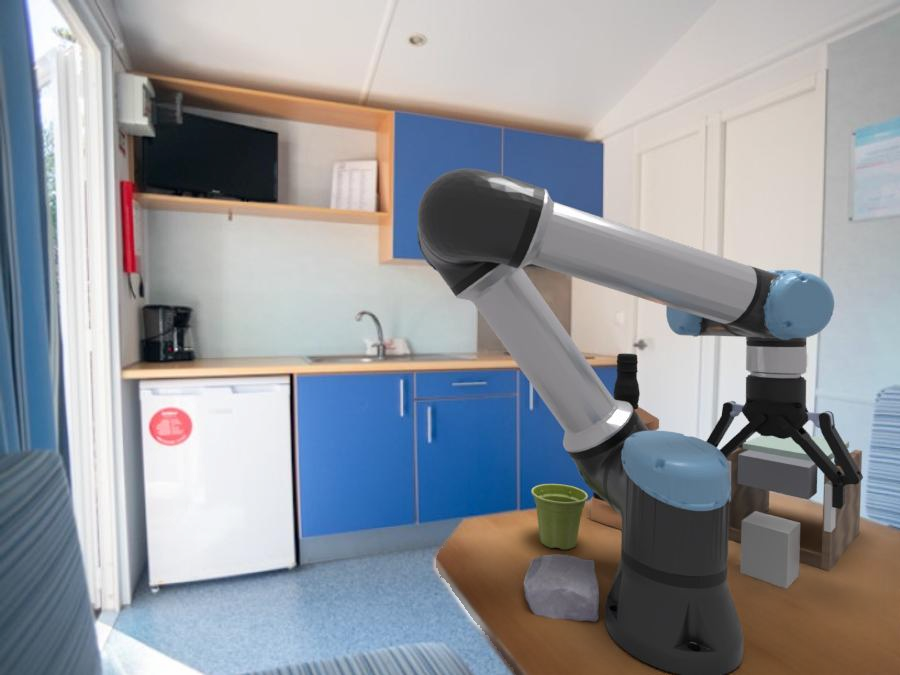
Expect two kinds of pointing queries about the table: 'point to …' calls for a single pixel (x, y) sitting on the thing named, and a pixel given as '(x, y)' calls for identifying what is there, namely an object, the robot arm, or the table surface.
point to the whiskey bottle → (630, 393)
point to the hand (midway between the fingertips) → (773, 515)
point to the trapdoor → (780, 466)
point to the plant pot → (559, 514)
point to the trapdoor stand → (846, 517)
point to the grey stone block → (770, 548)
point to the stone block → (562, 588)
